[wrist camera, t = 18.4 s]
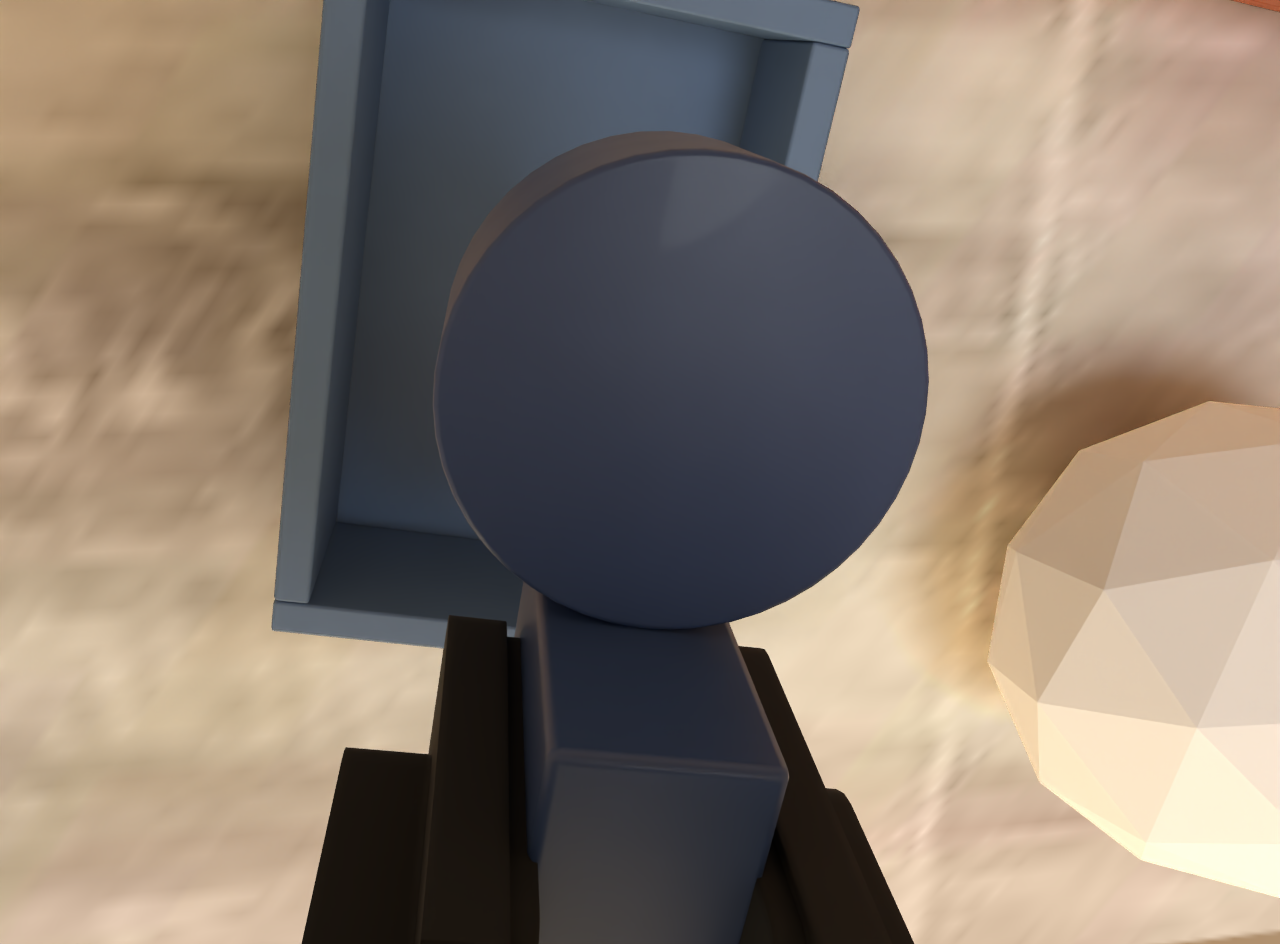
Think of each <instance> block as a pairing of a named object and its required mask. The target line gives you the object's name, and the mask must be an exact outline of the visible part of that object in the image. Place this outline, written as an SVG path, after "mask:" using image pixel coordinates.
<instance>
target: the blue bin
mask: <svg viewBox="0 0 1280 944" xmlns="http://www.w3.org/2000/svg"><path fill="white" fill-rule="evenodd" d="M858 15H859V7H858V6H855V5H850V4H846V3H841V2H837V1H832V0H323V11H322V23H321V35H320V48H319V60H318V72H317V84H316V96H315V108H314V120H313V132H312V144H311V156H310V168H309V181H308V193H307V205H306V217H305V229H304V241H303V253H302V265H301V277H300V289H299V302H298V314H297V326H296V338H295V350H294V362H293V374H292V386H291V398H290V410H289V423H288V435H287V447H286V459H285V471H284V483H283V495H282V507H281V519H280V531H279V543H278V556H277V568H276V580H275V592H274V597H275V600H274V603H273V615H272V630H274V631H280V632H290V633H300V634H309V635H319V636H329V637H338V638H348V639H358V640H367V641H377V642H386V643H396V644H406V645H415V646H425V647H435V648H444V643H445V636H446V629H447V623H448V617H449V615H454V616H464V617H473V618H482V619H491V620H501V621H506V622H507V637H514V636H515V629H516V623H517V617H518V611H519V605H520V599H521V593H522V587H523V581H522V580H521V579H520V578H518V577H517V576H516V575H515V574H513V573H512V572H511V571H510V570H508V569H507V568H506V567H505V566H504V565H503V564H502V563H501V562H500V561H499V560H498V559H497V558H496V557H495V556H494V555H493V554H492V553H491V552H490V550H489V549H488V548H487V547H486V546H485V545H484V544H483V542H482V541H481V539H480V538H479V537H478V535H477V534H476V533H475V531H474V530H473V529H472V527H471V526H470V525H469V523H468V522H467V520H466V518H465V516H464V514H463V513H462V511H461V509H460V507H459V505H458V503H457V501H456V500H455V498H454V496H453V494H452V491H451V488H450V486H449V483H448V480H447V478H446V475H445V472H444V470H443V467H442V463H441V459H440V454H439V450H438V446H437V441H436V437H435V426H434V414H433V388H434V371H435V366H436V361H437V356H438V351H439V346H440V341H441V336H442V331H443V326H444V321H445V316H446V311H447V306H448V301H449V296H450V291H451V287H452V284H453V281H454V278H455V275H456V273H457V270H458V267H459V264H460V261H461V259H462V257H463V255H464V253H465V251H466V249H467V247H468V245H469V243H470V241H471V239H472V237H473V236H474V234H475V233H476V231H477V230H478V229H479V227H480V226H481V224H482V223H483V221H484V220H485V218H486V217H487V215H488V214H489V213H490V211H491V210H492V209H493V208H494V207H495V206H496V205H497V204H498V203H499V202H500V200H501V199H502V198H503V197H504V196H505V195H506V194H507V193H508V192H509V191H510V190H511V189H512V188H513V187H515V186H516V185H517V184H518V183H519V182H520V181H522V180H523V179H524V178H525V177H526V176H528V175H529V174H530V173H531V172H533V171H534V170H536V169H537V168H539V167H541V166H542V165H544V164H545V163H547V162H549V161H550V160H552V159H553V158H555V157H557V156H559V155H561V154H563V153H565V152H567V151H570V150H572V149H574V148H576V147H578V146H581V145H583V144H586V143H589V142H593V141H596V140H599V139H603V138H606V137H609V136H614V135H621V134H627V133H633V132H639V131H673V132H682V133H690V134H698V135H702V136H705V137H709V138H713V139H717V140H721V141H724V142H727V143H730V144H732V145H735V146H737V147H740V148H742V149H745V150H747V151H750V152H752V153H755V154H757V155H760V156H762V157H765V158H768V159H770V160H773V161H775V162H777V163H780V164H782V165H785V166H787V167H789V168H792V169H794V170H796V171H799V172H801V173H804V174H805V175H807V176H809V177H810V178H812V179H814V180H815V181H817V182H818V178H819V174H820V170H821V166H822V162H823V157H824V153H825V149H826V145H827V141H828V137H829V133H830V129H831V125H832V120H833V116H834V112H835V108H836V104H837V100H838V96H839V92H840V88H841V83H842V79H843V75H844V71H845V67H846V63H847V59H848V55H849V51H848V49H846V48H850V46H851V43H852V39H853V35H854V31H855V27H856V23H857V19H858Z"/></svg>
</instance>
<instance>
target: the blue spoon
mask: <svg viewBox="0 0 1280 944" xmlns="http://www.w3.org/2000/svg"><path fill="white" fill-rule="evenodd" d="M928 383H929V376H928V354H927V346H926V340H925V335H924V329H923V324H922V319H921V316H920V313H919V310H918V307H917V304H916V301H915V298H914V295H913V292H912V289H911V287H910V285H909V283H908V281H907V279H906V277H905V275H904V273H903V271H902V269H901V267H900V265H899V263H898V261H897V259H896V258H895V257H894V255H893V254H892V252H891V251H890V249H889V248H888V246H887V245H886V243H885V242H884V240H883V239H882V238H881V236H880V235H879V234H878V233H877V232H876V230H875V229H874V228H873V227H872V226H871V225H870V224H869V223H868V222H867V221H866V220H865V218H864V217H863V216H862V215H861V214H860V213H859V212H858V211H857V210H856V209H854V208H853V207H852V206H851V205H849V204H848V203H847V202H846V201H845V200H843V199H842V198H841V197H840V196H838V195H837V194H836V193H835V192H834V191H832V190H830V189H829V188H827V187H825V186H824V185H822V184H820V183H819V182H817V181H815V180H814V179H812V178H810V177H809V176H807V175H805V174H804V173H801V172H799V171H796V170H794V169H792V168H789V167H787V166H785V165H782V164H780V163H777V162H775V161H773V160H770V159H768V158H765V157H762V156H760V155H757V154H755V153H752V152H750V151H747V150H745V149H742V148H740V147H737V146H735V145H732V144H730V143H727V142H724V141H721V140H717V139H713V138H709V137H705V136H702V135H698V134H690V133H682V132H673V131H639V132H633V133H627V134H621V135H614V136H609V137H606V138H603V139H599V140H596V141H593V142H589V143H586V144H583V145H581V146H578V147H576V148H574V149H572V150H570V151H567V152H565V153H563V154H561V155H559V156H557V157H555V158H553V159H552V160H550V161H549V162H547V163H545V164H544V165H542V166H541V167H539V168H537V169H536V170H534V171H533V172H531V173H530V174H529V175H528V176H526V177H525V178H524V179H523V180H522V181H520V182H519V183H518V184H517V185H516V186H515V187H513V188H512V189H511V190H510V191H509V192H508V193H507V194H506V195H505V196H504V197H503V198H502V199H501V200H500V202H499V203H498V204H497V205H496V206H495V207H494V208H493V209H492V210H491V211H490V213H489V214H488V215H487V217H486V218H485V220H484V221H483V223H482V224H481V226H480V227H479V229H478V230H477V231H476V233H475V234H474V236H473V237H472V239H471V241H470V243H469V245H468V247H467V249H466V251H465V253H464V255H463V257H462V259H461V261H460V264H459V267H458V270H457V273H456V275H455V278H454V281H453V284H452V287H451V291H450V296H449V301H448V306H447V311H446V316H445V321H444V326H443V331H442V336H441V341H440V346H439V351H438V356H437V361H436V366H435V371H434V388H433V414H434V426H435V437H436V441H437V446H438V450H439V454H440V459H441V463H442V467H443V470H444V472H445V475H446V478H447V480H448V483H449V486H450V488H451V491H452V494H453V496H454V498H455V500H456V501H457V503H458V505H459V507H460V509H461V511H462V513H463V514H464V516H465V518H466V520H467V522H468V523H469V525H470V526H471V527H472V529H473V530H474V531H475V533H476V534H477V535H478V537H479V538H480V539H481V541H482V542H483V544H484V545H485V546H486V547H487V548H488V549H489V550H490V552H491V553H492V554H493V555H494V556H495V557H496V558H497V559H498V560H499V561H500V562H501V563H502V564H503V565H504V566H505V567H506V568H507V569H508V570H510V571H511V572H512V573H513V574H515V575H516V576H517V577H518V578H520V579H521V580H522V581H523V587H522V593H521V599H520V605H519V611H518V617H517V623H516V629H515V636H514V637H517V638H520V645H521V676H522V707H523V738H524V769H525V801H526V832H527V854H528V856H529V858H530V859H531V861H533V862H536V863H538V881H539V904H540V931H539V944H739V942H740V938H741V935H742V931H743V927H744V924H745V920H746V916H747V913H748V909H749V905H750V902H751V898H752V894H753V891H754V887H755V883H756V880H757V878H760V877H762V875H763V872H764V868H765V864H766V861H767V857H768V853H769V850H770V846H771V842H772V839H773V835H774V831H775V828H776V824H777V821H778V817H779V813H780V810H781V806H782V802H783V799H784V795H785V791H786V788H787V784H788V780H789V773H788V768H787V766H786V763H785V761H784V758H783V756H782V753H781V751H780V748H779V746H778V743H777V741H776V738H775V736H774V733H773V731H772V728H771V726H770V723H769V721H768V718H767V716H766V714H765V711H764V709H763V706H762V704H761V701H760V699H759V696H758V694H757V691H756V689H755V686H754V684H753V681H752V679H751V676H750V674H749V671H748V669H747V666H746V664H745V662H744V659H743V657H742V654H741V652H740V649H739V647H738V644H737V642H736V639H735V637H734V634H733V632H732V629H731V627H730V624H729V622H732V621H735V620H739V619H742V618H745V617H748V616H752V615H755V614H758V613H761V612H763V611H765V610H768V609H770V608H772V607H774V606H777V605H779V604H781V603H784V602H786V601H788V600H790V599H791V598H793V597H795V596H796V595H798V594H800V593H802V592H803V591H805V590H807V589H809V588H810V587H812V586H814V585H815V584H816V583H818V582H819V581H820V580H822V579H823V578H824V577H826V576H827V575H828V574H830V573H831V572H832V571H834V570H835V569H836V568H838V567H839V566H840V565H841V564H842V563H843V562H844V561H845V560H846V559H847V558H848V557H849V556H850V555H852V554H853V553H854V552H855V551H856V550H857V549H858V548H859V547H860V546H861V545H862V543H863V542H864V541H865V540H866V539H867V537H868V536H869V535H870V534H871V533H872V532H873V530H874V529H875V528H876V527H877V526H878V524H879V523H880V522H881V520H882V519H883V517H884V515H885V514H886V512H887V511H888V509H889V508H890V506H891V505H892V503H893V502H894V500H895V499H896V497H897V495H898V493H899V491H900V489H901V487H902V485H903V483H904V481H905V479H906V477H907V475H908V473H909V471H910V468H911V465H912V462H913V459H914V457H915V454H916V451H917V448H918V445H919V442H920V438H921V433H922V428H923V424H924V419H925V415H926V407H927V395H928Z"/></svg>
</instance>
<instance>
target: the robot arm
mask: <svg viewBox="0 0 1280 944" xmlns="http://www.w3.org/2000/svg"><path fill="white" fill-rule="evenodd" d="M738 647H739V649H740V652H741V654H742V657H743V659H744V662H745V664H746V666H747V669H748V671H749V674H750V676H751V679H752V681H753V684H754V686H755V689H756V691H757V694H758V696H759V699H760V701H761V704H762V706H763V709H764V711H765V714H766V716H767V718H768V721H769V723H770V726H771V728H772V731H773V733H774V736H775V738H776V741H777V743H778V746H779V748H780V751H781V753H782V756H783V758H784V761H785V763H786V766H787V768H788V773H789V780H788V784H787V788H786V791H785V795H784V799H783V802H782V806H781V810H780V813H779V817H778V821H777V824H776V828H775V831H774V835H773V839H772V842H771V846H770V850H769V853H768V857H767V861H766V864H765V868H764V872H763V875H762V877H760V878H757V880H756V883H755V887H754V891H753V894H752V898H751V902H750V905H749V909H748V913H747V916H746V920H745V924H744V927H743V931H742V935H741V938H740V942H739V944H914V942H913V940H912V938H911V935H910V933H909V931H908V929H907V927H906V924H905V922H904V920H903V918H902V916H901V913H900V911H899V909H898V907H897V905H896V902H895V900H894V898H893V896H892V894H891V891H890V889H889V887H888V885H887V883H886V880H885V878H884V876H883V874H882V872H881V869H880V867H879V865H878V863H877V861H876V858H875V856H874V854H873V852H872V849H871V847H870V845H869V843H868V841H867V838H866V836H865V834H864V832H863V830H862V827H861V825H860V823H859V821H858V819H857V816H856V814H855V812H854V810H853V808H852V805H851V804H850V802H849V800H848V799H847V797H846V796H845V794H844V793H842V792H841V791H839V790H837V789H828V788H825V786H824V784H823V781H822V779H821V777H820V774H819V772H818V770H817V767H816V765H815V763H814V761H813V758H812V756H811V754H810V751H809V749H808V747H807V744H806V742H805V740H804V737H803V735H802V733H801V730H800V728H799V726H798V723H797V721H796V719H795V716H794V714H793V712H792V709H791V707H790V705H789V702H788V700H787V698H786V695H785V693H784V691H783V688H782V686H781V684H780V681H779V679H778V677H777V674H776V672H775V670H774V667H773V665H772V663H771V660H770V658H769V656H768V654H767V652H766V651H765V649H761V648H752V647H742V646H738ZM539 931H540V904H539V881H538V863H536V862H533V861H531V859H530V858H529V856H528V854H527V832H526V801H525V769H524V738H523V707H522V676H521V645H520V638H517V637H507V622H506V621H501V620H491V619H482V618H473V617H464V616H454V615H449V617H448V623H447V629H446V636H445V643H444V650H443V657H442V664H441V671H440V678H439V685H438V691H437V698H436V705H435V712H434V719H433V726H432V733H431V740H430V747H429V754H417V753H406V752H394V751H382V750H370V749H359V748H347V747H346V748H345V750H344V754H343V758H342V762H341V766H340V771H339V775H338V780H337V784H336V789H335V794H334V798H333V803H332V807H331V812H330V816H329V821H328V826H327V830H326V835H325V839H324V844H323V849H322V853H321V858H320V862H319V867H318V871H317V876H316V881H315V885H314V890H313V894H312V899H311V903H310V908H309V913H308V917H307V922H306V926H305V931H304V935H303V940H302V944H539Z"/></svg>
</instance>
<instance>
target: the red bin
mask: <svg viewBox="0 0 1280 944" xmlns="http://www.w3.org/2000/svg"><path fill="white" fill-rule="evenodd" d="M1232 1H1237V2H1241V3H1245V4H1249V5H1253V6H1258V7H1262V8H1266V9H1270V10H1274V11H1279V12H1280V0H1232Z"/></svg>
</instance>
